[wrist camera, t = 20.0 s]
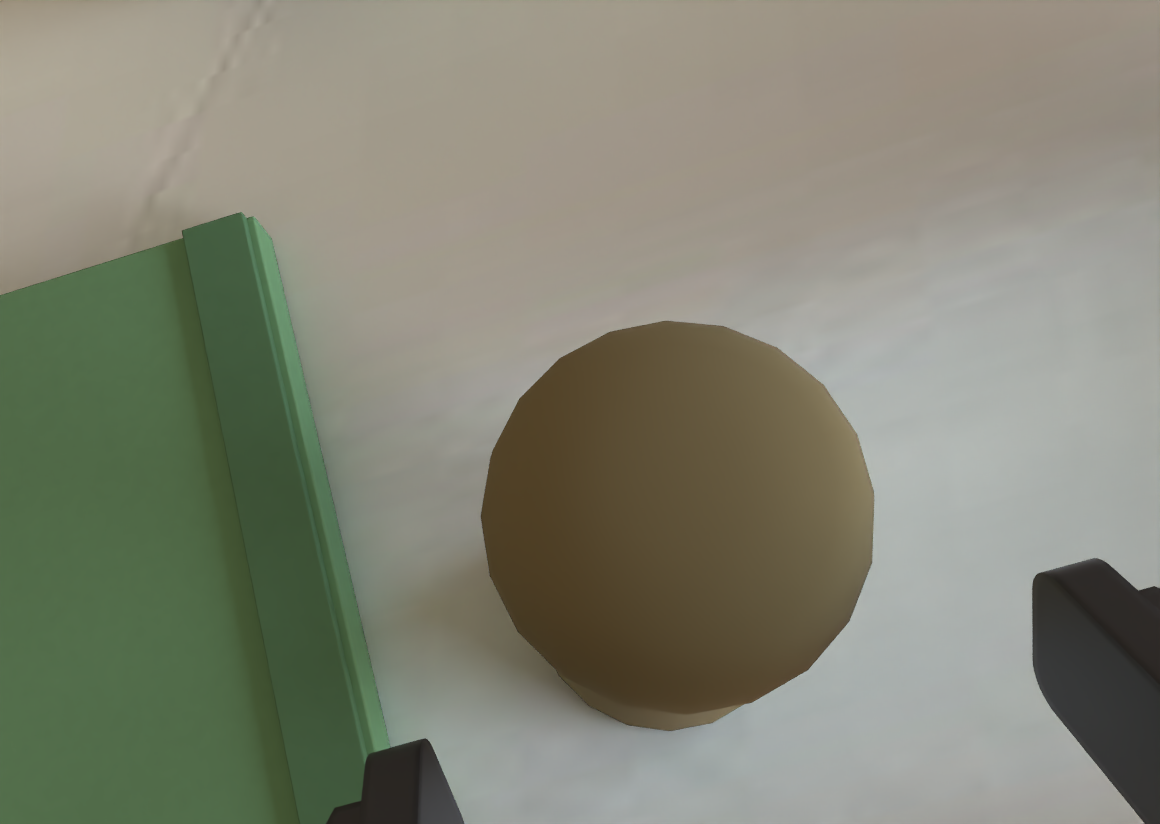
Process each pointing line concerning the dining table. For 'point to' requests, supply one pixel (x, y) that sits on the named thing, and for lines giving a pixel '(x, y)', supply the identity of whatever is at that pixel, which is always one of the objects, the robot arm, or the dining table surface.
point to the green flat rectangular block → (172, 552)
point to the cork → (678, 521)
